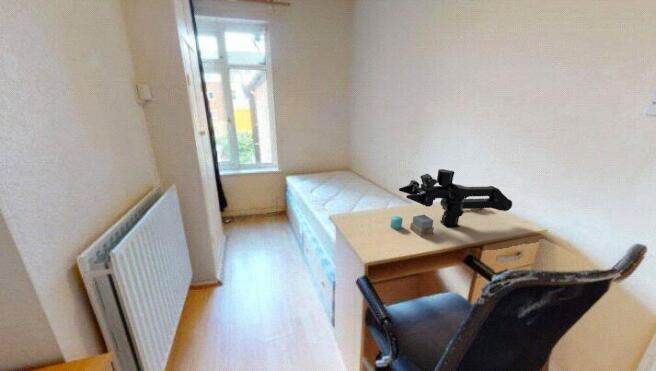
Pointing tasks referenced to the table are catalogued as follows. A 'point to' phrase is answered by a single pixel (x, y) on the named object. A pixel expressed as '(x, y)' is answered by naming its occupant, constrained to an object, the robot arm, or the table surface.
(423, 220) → the upper block
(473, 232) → the table surface
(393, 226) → the teal rounded dome
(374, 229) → the table surface
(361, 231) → the table surface
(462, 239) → the table surface
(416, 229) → the lower block
